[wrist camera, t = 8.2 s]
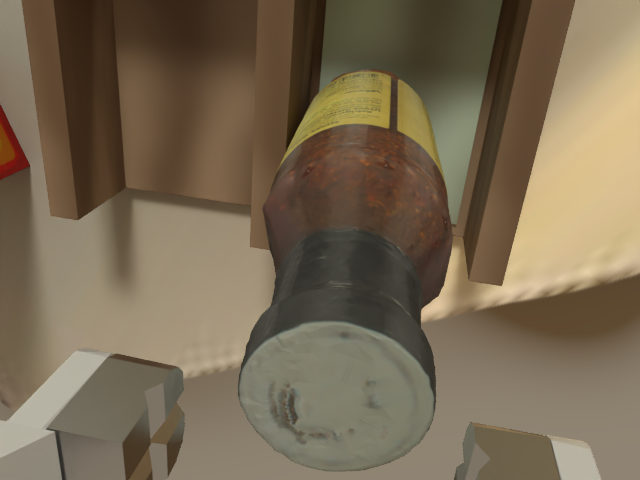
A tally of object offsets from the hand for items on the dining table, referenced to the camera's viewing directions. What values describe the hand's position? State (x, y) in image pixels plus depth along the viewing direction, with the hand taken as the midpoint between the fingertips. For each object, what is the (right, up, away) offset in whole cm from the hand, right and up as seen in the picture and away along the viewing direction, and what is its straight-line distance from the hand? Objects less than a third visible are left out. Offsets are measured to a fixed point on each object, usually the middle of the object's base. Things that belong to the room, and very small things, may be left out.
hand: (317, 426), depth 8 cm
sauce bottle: (+3, +9, +21) cm, 23 cm away
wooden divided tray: (-1, +11, +21) cm, 24 cm away
